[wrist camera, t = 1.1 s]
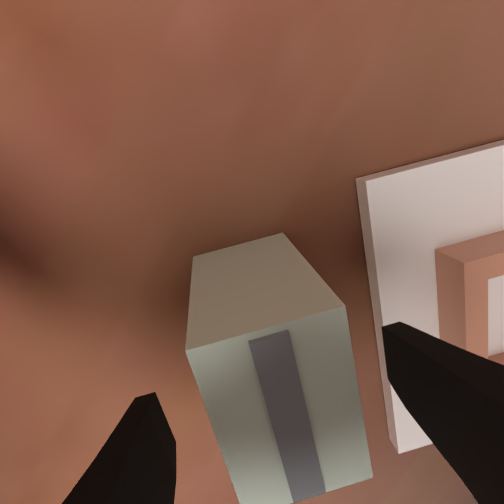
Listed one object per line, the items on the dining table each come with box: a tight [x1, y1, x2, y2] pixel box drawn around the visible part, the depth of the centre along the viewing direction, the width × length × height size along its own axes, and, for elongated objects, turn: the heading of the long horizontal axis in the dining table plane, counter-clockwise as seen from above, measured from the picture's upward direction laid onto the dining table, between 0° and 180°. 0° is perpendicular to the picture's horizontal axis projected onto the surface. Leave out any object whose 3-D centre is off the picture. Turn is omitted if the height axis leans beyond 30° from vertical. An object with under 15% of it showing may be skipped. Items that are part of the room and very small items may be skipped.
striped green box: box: [185, 233, 373, 504], centre depth 12 cm, size 6×4×7 cm, turn 13°
